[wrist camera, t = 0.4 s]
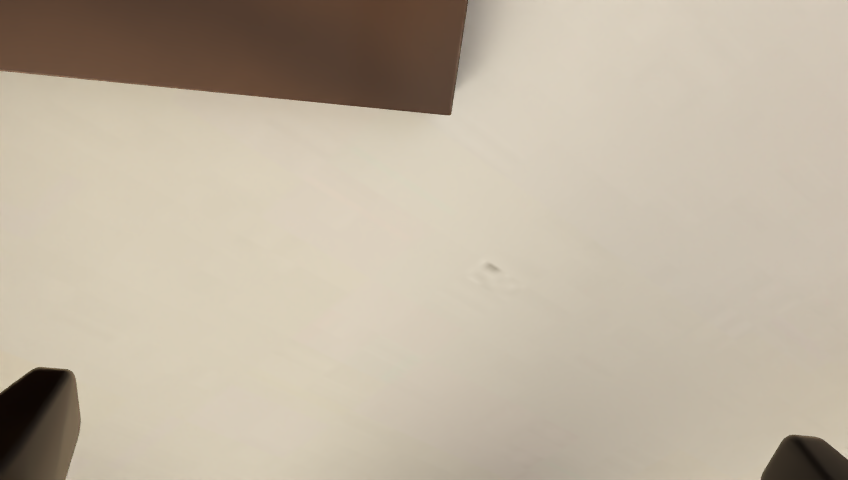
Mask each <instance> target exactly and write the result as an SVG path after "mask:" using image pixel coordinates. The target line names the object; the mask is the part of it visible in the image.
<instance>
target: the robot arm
mask: <svg viewBox="0 0 848 480" xmlns="http://www.w3.org/2000/svg"><path fill="white" fill-rule="evenodd" d="M80 422H81V418H80V409H79V401H78V393H77V385H76V379H75V375H74V374H73V372H72V371H70V370H68V369H58V368H47V367H38V368H35V369H33V370H31V371H29V372H28V373H27V374H25V375H24V376H23V377H21V378H20V379H19V380H17V381H16V382H14V383H13V384H12V385H10V386H9V387H8V388H6V389H5V390H4V391H2V392H1V393H0V480H65V479H66V476H67V472H68V469H69V466H70V462H71V459H72V456H73V453H74V449H75V446H76V443H77V440H78V436H79V431H80ZM761 480H848V460H847V459H846V458H845V457H844V456H843V455H841V454H840V453H839V452H838V451H837V450H835V449H834V448H833V447H832V446H830V445H829V444H828V443H827V442H825V441H824V440H823V439H821V438H818V437H813V436H802V435H789V436H787V437H786V438H784V439H783V441H782V442H781V444H780V445H779V447H778V448H777V450H776V452H775V453H774V455H773V457H772V458H771V460H770V462H769V463H768V465H767V467H766V468H765V470H764V472H763V474H762V477H761Z"/></svg>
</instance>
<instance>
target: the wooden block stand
mask: <svg viewBox="0 0 848 480" xmlns="http://www.w3.org/2000/svg"><path fill="white" fill-rule="evenodd" d="M467 4H468V0H0V71H8V72H18V73H28V74H38V75H48V76H58V77H68V78H78V79H88V80H98V81H109V82H119V83H129V84H139V85H149V86H159V87H169V88H179V89H189V90H199V91H209V92H219V93H229V94H239V95H249V96H259V97H269V98H279V99H289V100H299V101H309V102H320V103H330V104H340V105H350V106H360V107H370V108H380V109H390V110H400V111H410V112H420V113H430V114H440V115H451V111H452V105H453V98H454V91H455V85H456V78H457V71H458V65H459V58H460V51H461V44H462V38H463V31H464V24H465V18H466V11H467Z"/></svg>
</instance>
